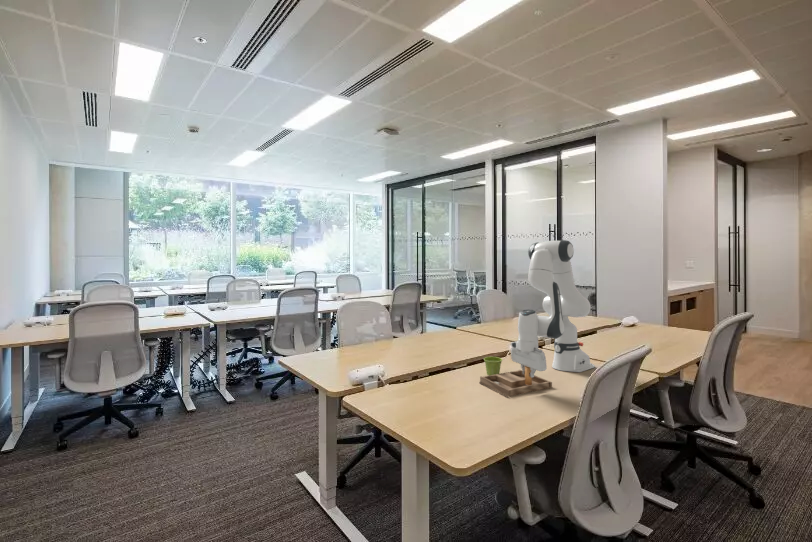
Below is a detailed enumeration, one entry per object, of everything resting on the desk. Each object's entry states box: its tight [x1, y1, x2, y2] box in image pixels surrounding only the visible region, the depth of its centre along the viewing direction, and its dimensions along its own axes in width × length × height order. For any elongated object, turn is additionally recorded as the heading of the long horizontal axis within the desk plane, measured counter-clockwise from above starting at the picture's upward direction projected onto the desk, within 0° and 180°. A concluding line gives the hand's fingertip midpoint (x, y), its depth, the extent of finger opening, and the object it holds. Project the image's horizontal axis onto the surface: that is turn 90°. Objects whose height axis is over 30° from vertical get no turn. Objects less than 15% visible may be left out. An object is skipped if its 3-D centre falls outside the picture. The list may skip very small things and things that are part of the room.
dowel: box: [525, 366, 532, 385], centre depth 183 cm, size 3×3×8 cm
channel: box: [478, 369, 553, 399], centre depth 187 cm, size 25×22×3 cm
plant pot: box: [483, 356, 503, 376], centre depth 204 cm, size 9×9×9 cm
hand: (528, 375), depth 183 cm, fingers closed on dowel, 3 cm apart
